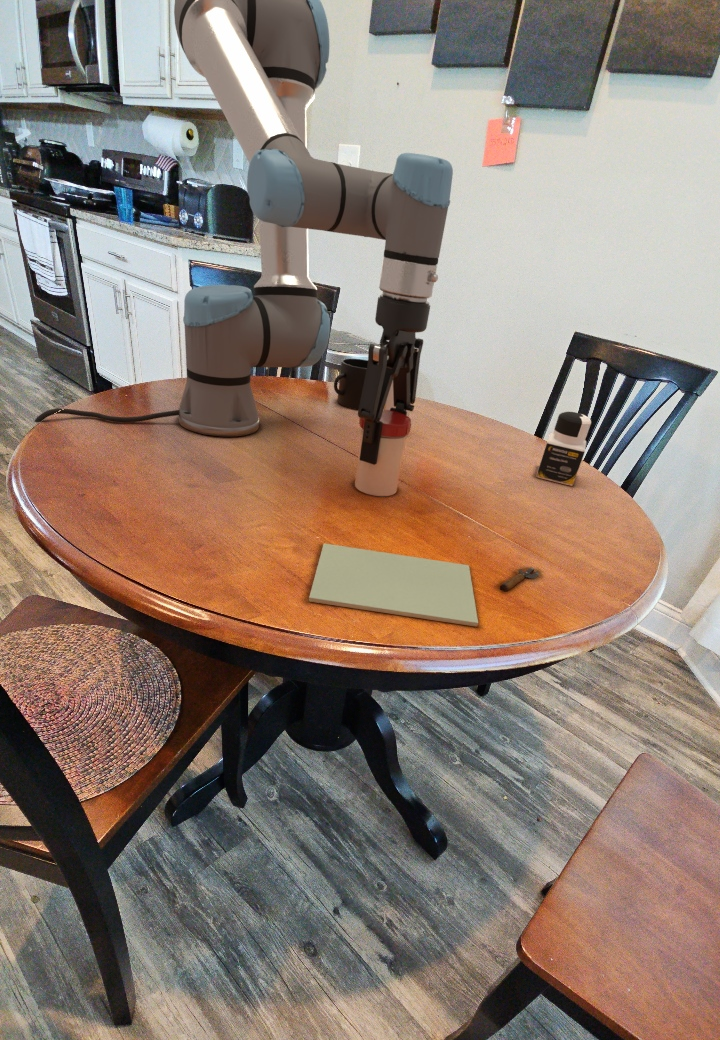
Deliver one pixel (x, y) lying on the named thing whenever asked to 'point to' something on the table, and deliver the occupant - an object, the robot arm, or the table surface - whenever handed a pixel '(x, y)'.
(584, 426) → the medicine bottle
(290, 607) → the table surface
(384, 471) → the jar
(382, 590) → the mat
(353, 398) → the mug
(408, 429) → the lid
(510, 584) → the can opener
